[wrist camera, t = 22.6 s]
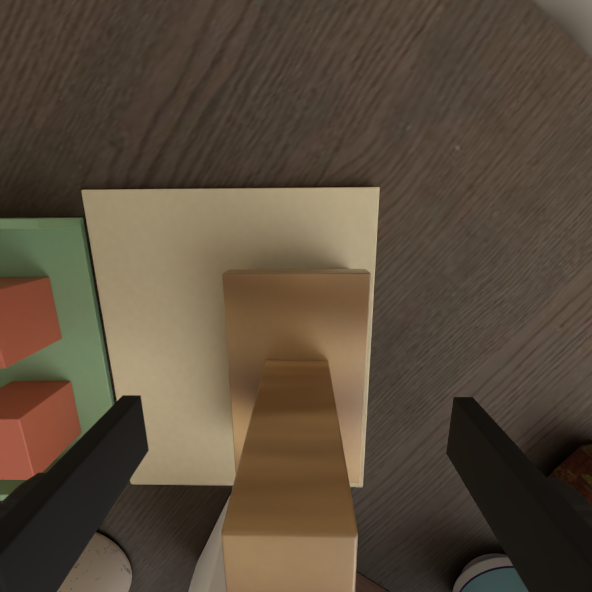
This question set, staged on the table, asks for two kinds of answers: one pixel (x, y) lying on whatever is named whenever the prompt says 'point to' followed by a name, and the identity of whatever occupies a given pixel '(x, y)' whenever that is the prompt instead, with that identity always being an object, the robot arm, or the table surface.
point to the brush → (294, 426)
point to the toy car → (577, 471)
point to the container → (211, 562)
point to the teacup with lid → (99, 569)
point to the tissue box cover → (366, 585)
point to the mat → (206, 300)
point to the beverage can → (489, 575)
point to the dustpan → (60, 315)
